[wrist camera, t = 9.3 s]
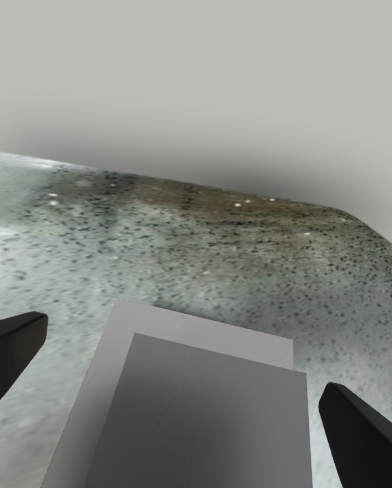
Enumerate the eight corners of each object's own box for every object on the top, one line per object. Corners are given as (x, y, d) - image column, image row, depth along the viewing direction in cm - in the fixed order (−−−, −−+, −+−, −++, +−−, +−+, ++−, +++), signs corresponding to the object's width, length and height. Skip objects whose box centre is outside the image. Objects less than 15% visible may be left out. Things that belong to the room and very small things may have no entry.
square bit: (192, 447, 13) (509, 1083, 1) (122, 431, 13) (-252, 929, 1) (204, 367, 15) (361, 318, 3) (145, 353, 15) (94, 253, 3)
